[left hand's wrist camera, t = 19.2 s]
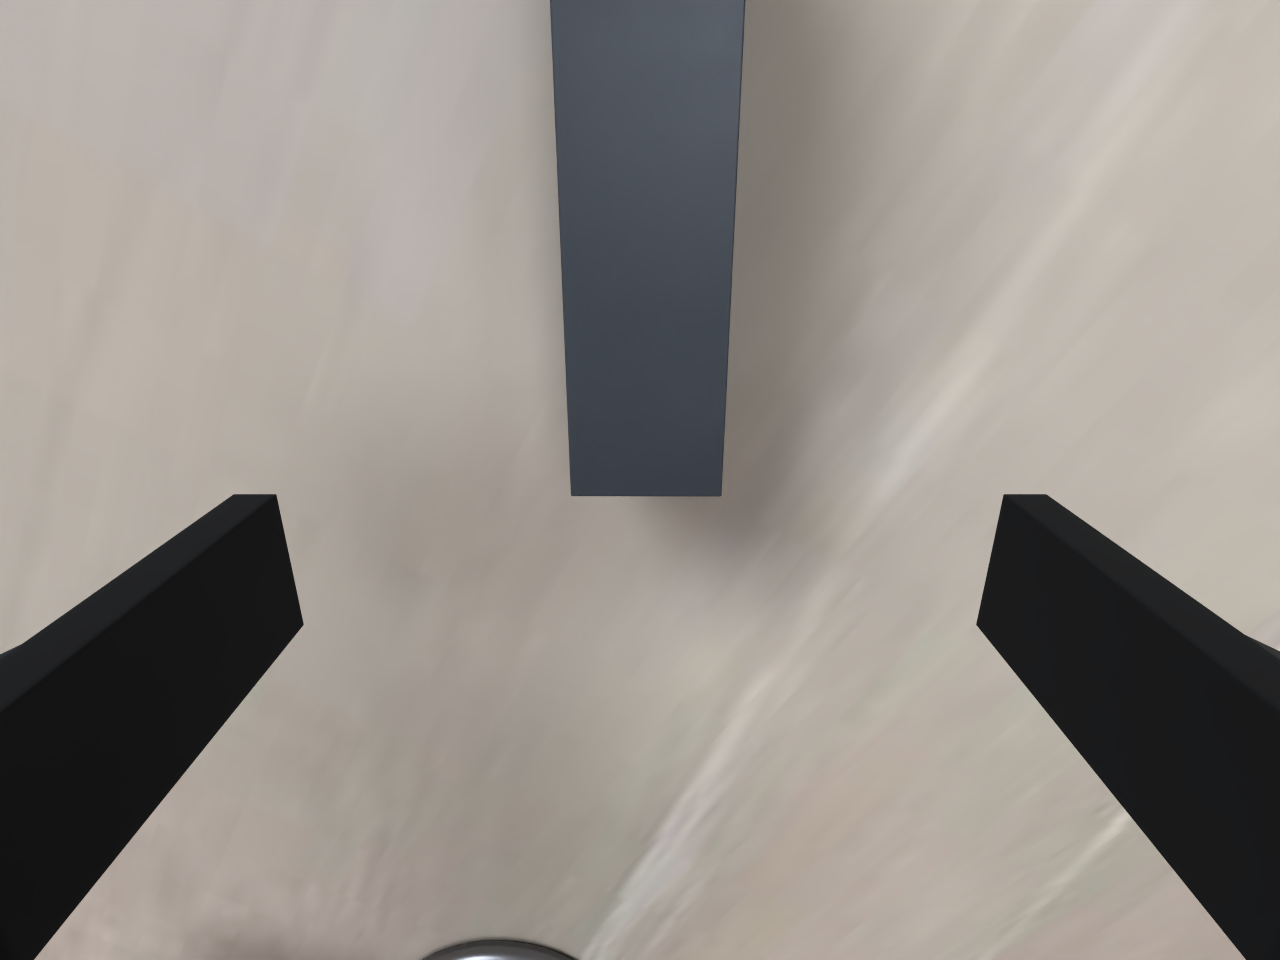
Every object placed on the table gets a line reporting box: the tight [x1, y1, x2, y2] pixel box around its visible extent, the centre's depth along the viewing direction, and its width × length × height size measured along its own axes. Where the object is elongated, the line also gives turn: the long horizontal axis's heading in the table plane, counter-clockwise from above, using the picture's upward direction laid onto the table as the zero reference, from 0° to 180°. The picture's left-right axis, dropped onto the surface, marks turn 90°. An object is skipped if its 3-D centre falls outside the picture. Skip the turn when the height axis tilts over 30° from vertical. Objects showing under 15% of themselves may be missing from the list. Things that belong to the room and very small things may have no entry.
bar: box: [550, 0, 745, 496], centre depth 24 cm, size 23×5×8 cm, turn 0°
